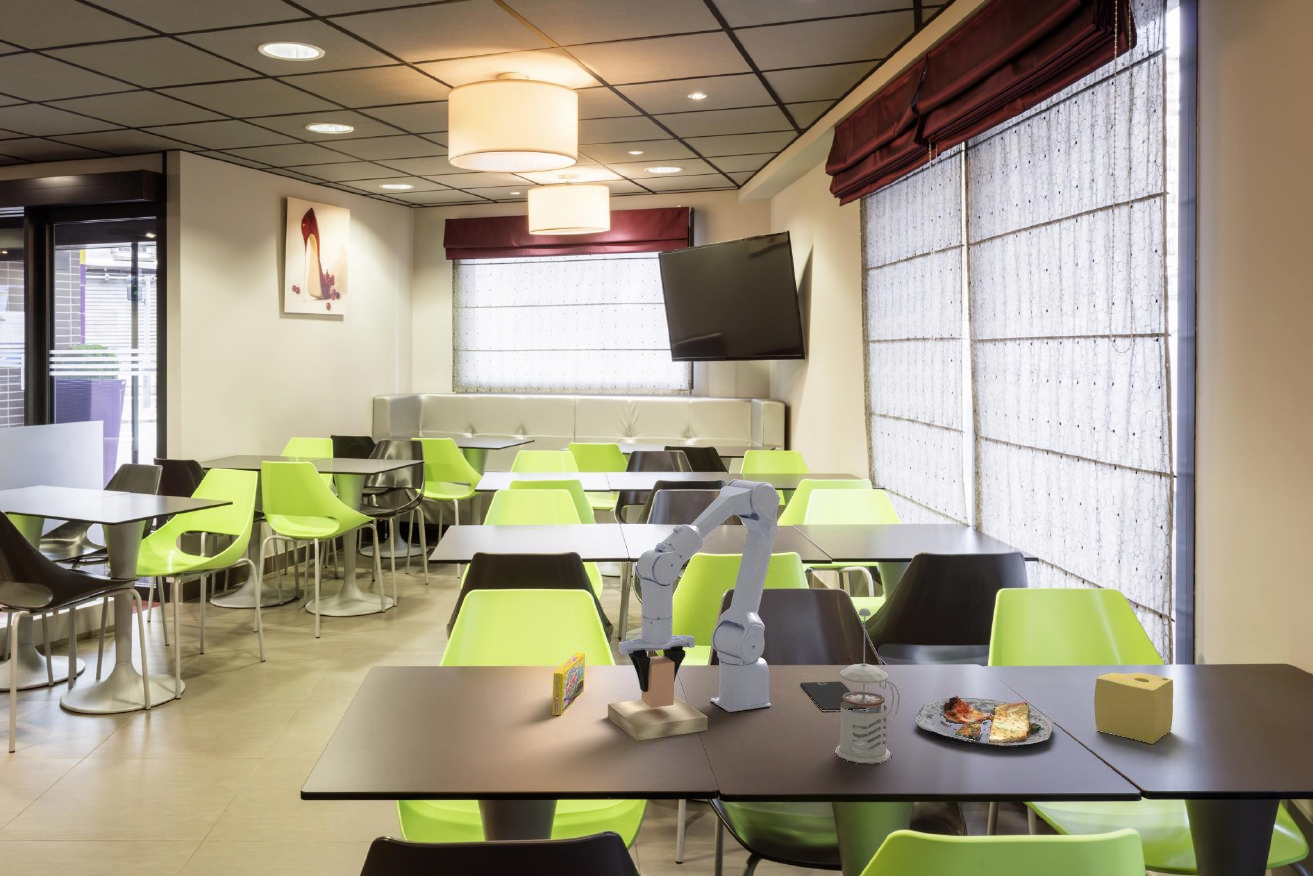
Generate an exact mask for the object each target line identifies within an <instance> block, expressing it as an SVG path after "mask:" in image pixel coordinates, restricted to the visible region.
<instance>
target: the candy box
mask: <svg viewBox="0 0 1313 876" xmlns="http://www.w3.org/2000/svg"><path fill="white" fill-rule="evenodd" d="M585 657H586V653H584V652H578V651H577V652H576V653H574V654H573V655H572V656H571V657H570V658H569V659H568V660H567V661H565V662H564V663H563V664H562V665H561V666H560V667H558V668H557V669H556V670H555V671H554V672H553V679H552V680H553V682H552V684H553V686H552V703H551V704H552V709H551V715H552V716H555V715H560V716H561V715H562V714H564V712H565V711H566V710H567V709H568V708H569V707H570V706H571V705H572V704H573V703H574V702H575V701H576V700H577V699H578V698H579V697H580V696H581V695H582V693H584V692H585V691H584V689H585V667H586V666H585V665H586V663H585V661H586V658H585ZM578 696H579V697H578ZM577 697H578V698H577ZM576 698H577V699H576ZM575 699H576V700H575Z"/></svg>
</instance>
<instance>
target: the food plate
mask: <svg viewBox="0 0 1313 876" xmlns="http://www.w3.org/2000/svg"><path fill="white" fill-rule="evenodd" d="M984 713H990V715H989V714H984ZM991 714H992V715H994V716H992V715H991ZM934 715H939V716H940V717H941V716H943V717H944V718H945V719H946V722H949V723H954V724H963V725H962V726H963V727H961V728H960V729H958V731H957V732H956V731H955V736H954V735H952V734H949V733H947V732H943V731H944V730H943V731H941V730H940V729H938V728H937V727H936V725H934V724H935V722H934V721H935V720H934V721H933V724H930V723H931V721H929V720H927V719H928V718H930V719H932V717H933V716H934ZM939 716H938V717H937V719H939ZM985 720H991V722H992V725H991V726H990V727H989V728H990V735H989V739H988V740H989V742H988V741H983V740H978V739H979V738H980V737H981V736H980V732H981V727H980V725H975V724H982V722H983V721H985ZM914 722H915V723H916V724H917V726H918V727H920V728H921V729H923V730H926V731H929V732H935V733H936V734H939V735H942V736H945V737H948V738H952V737H953V738H952V739H956V738H957V739H956V740H958V739H959V741H962V740H967V741H971V742H970V743H973V742H977V743H976V744H980V743H982V744H981V745H987V744H990V745H992V746H996V745H999V746H998V747H1006V748H1009V747H1010V746H1012V747H1013V748H1015V747H1014V746H1017V747H1018V746H1021V745H1023V746H1024V745H1029V744H1030V745H1031V744H1034V743H1040V742H1044V741H1046V740H1049V739H1050V737H1051V735H1052V732H1053V728H1054V724H1055V722H1054V721H1053V720H1052V719H1051V718H1050V717H1048V716H1046V715H1045V714H1043V713H1040V712H1039V711H1036V710H1035V709H1033V708H1030V705H1029V703H1028V702H1026V701H1023V702H1022V701H1021V702H1013V703H1011V702H1006V701H999V700H994V699H990V698H989V699H988V698H977V697H967V698H966V697H960V698H959V696H958V695H955V696H953V697H950V698H944V699H943V698H942V699H940V700H936V701H935V700H933V701H931V702H929V703H925V704H923V706H922V707H921V709H919V712H917V714H916V716H915V718H914ZM956 735H958V736H962V738H960V737H956ZM979 736H980V737H979ZM978 737H979V738H978ZM967 738H968V739H967ZM977 738H978V739H977ZM960 739H961V740H960ZM970 739H973V740H970ZM976 739H977V740H976ZM974 740H975V741H974ZM967 741H966V742H967ZM1012 747H1011V748H1012Z"/></svg>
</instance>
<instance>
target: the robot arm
mask: <svg viewBox="0 0 1313 876" xmlns="http://www.w3.org/2000/svg"><path fill="white" fill-rule="evenodd" d="M780 501H781V497H780V495H779V493H778V492H777V490H776V488H775V487H774V485H773V484H772V483H770V482H767V481H766V482H765V481H761V482H760V481H751V480H746V479H745V480H744V479H743V480H742V479H741V478H733V479H732V480H730V481H729V482H727V483H726V485H725V486H723V487H721V489H720V490H719V494H718V496H717V497H716V498H715V499H714V500H713V501H712V502H710V504H709V505H708V506H707V507H706V508H705V509H704V511H702V512H701V513H700V514H699V516H698V517H697V518H696V519H694V520H693V522H691V524H681V525H676V526H675V527H673V528H672V532H671V534H669V536H667V537H666V538H665V539H663V540H662V541H661V542H658V543H657V544H656V545H655V548H654V549H649V550H646V551H644V552H643V553H642V554H641V555H640V556H639V558H638V560H637V565H635V566H634V570H635V574H636V576H637V577H638V579H639V586H640V587H641V637H640V638H635V639H631V640H626V641H625V640H624V641H620V642H618V643H617V645H618V649H617V650H618V653H619V654H621V655H622V656H625V655H626V656H627V655H628V657H629V658H630V660H631V662H632V665H633V668H634V669H635V673H636V675H637V679H638V683H639V689H640V691H641V692H642V691H643V692H648V671H649V664H650V659H651V658H650V657H651V656H648V653H646V652H653V651H663V656H666V657H667V658H669V659H670V660H672V661H673V662H675V664H674V683H675V681H676V677H677V676H678V675H677V674H678V671H679V669H680V666H681V665H682V663H683V661H684V659H685V658H686V650H684V648H689V649H691V648H695V645H696V644H695V640H696V639H695V636H692V635H691V634H688V635H687V634H685V635H683V634H682V635H673V609H674V608H673V601H674V600H673V599H674V598H673V589H674V588H673V587H674V586H673V585H674V584H673V582H675V581H677V580H678V577H679V575H680V571H681V569H682V567H683V566H684V565H685V564H686V563H687V562H688V561H689V560H690V559H691V558H692V557H693V556H694V555H695V554H696V553H697V552H699V551H700V550H701V549H702V548H703V540H704V538H705V537H707V536H708V535H709V534H710V533H711V532H713V531H714V530H716V528H718V526H720V525H721V524H723V523H724V522H725V521H726V520H727V519H729V518H730V517H731V516H737V517H738V518H739V519H740V520H742V523H743V524H744V525H745V527H746V530H747V534H746V538H745V543H744V547H743V552H742V555H741V560H740V564H739V568H738V573H737V577H736V582H735V585H734V590H733V594H732V599H731V603H730V607H729V608H728V609H725V611H724V612H722V613H721V614H720V615H719V619H718V622H717V624H716V626H715V627H714V629H713V631H712V633H711V638H710V639H711V641H710V642H711V645H712V648H713V650H715V651H716V653H717V654H716V655H717V658H718V661H719V662H718V663H719V664H718V665H719V666H718V669H719V670H718V673H719V676H718V678H719V679H718V697H711V698H710V701H711V702H712V703H714V704H715V705H717V706H718V707H720V708H722V709H724V710H725V711H727V713H732V712H738V711H745V710H755V709H759V708H760V709H762V708H768V707H772V704H771V703H770V670H769V666H768V663H767V661H766V660H765V659H764V658H763V657H762V655H763V654H764V650H765V645H766V643H765V634H764V633H765V630H766V626H765V624H764V622H763V620H762V619H761V617H760V616H759V611H760V606H761V600H762V596H763V592H764V589H765V588H764V587H765V583H766V578H767V576H768V575H767V574H768V570H769V565H770V560H771V557H772V554H773V553H772V552H773V548H774V544H775V539H776V536H777V529H778V514H777V513H778V510H779V506H780Z"/></svg>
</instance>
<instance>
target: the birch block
mask: <svg viewBox="0 0 1313 876" xmlns="http://www.w3.org/2000/svg"><path fill="white" fill-rule="evenodd" d="M607 718H608V719H610V721H612V722H613V723H614V724H616V725H617V726H618V727H619V728H621V730H622V731H624V732H625V733H626V734H628V736H630V737H631V738H632V739H633V740H635V742H637V741H644V740H645V741H646V740H649V739H650V740H651V739H657V738H663V737H671V736H677V735H684V734H691V733H692V734H693V733H697V732H698V733H699V732H705V731H708V716H707V715H706V714H704V713H703V712H701V711H700V710H698V709H696V708H695V707H694V706H692V705H691V704H689V703H687V701H685V700H683V699H682V698H680V697H678V696H677V695H676V694H674V705H670V706H662V707H655V708H651V707H649V706H648V705H647V704H646V703H644V702H643V701H642V699H636V700H629V701H628V700H627V701H620V702H612V703H607Z"/></svg>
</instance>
